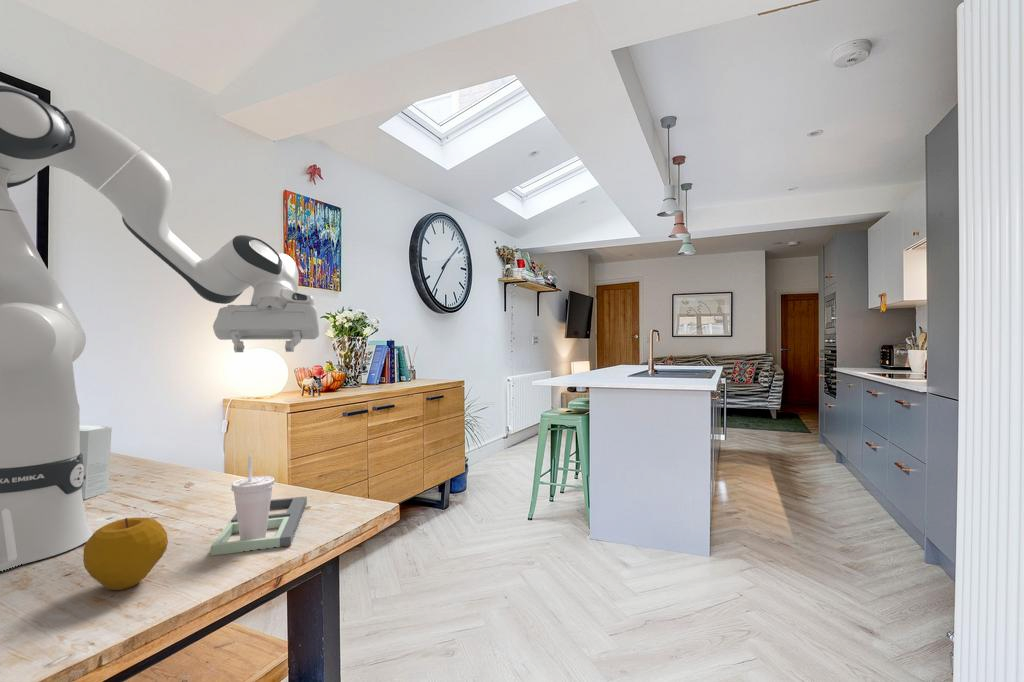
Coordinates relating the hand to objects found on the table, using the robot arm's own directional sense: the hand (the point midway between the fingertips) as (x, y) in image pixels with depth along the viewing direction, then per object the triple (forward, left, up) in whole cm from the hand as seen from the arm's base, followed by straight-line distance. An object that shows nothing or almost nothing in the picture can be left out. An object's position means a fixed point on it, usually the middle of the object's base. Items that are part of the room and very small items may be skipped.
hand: (264, 350), depth 96 cm
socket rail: (+2, -14, -31) cm, 34 cm away
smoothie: (+2, -19, -32) cm, 37 cm away
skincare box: (-39, +18, -32) cm, 53 cm away
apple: (-11, -30, -32) cm, 45 cm away
